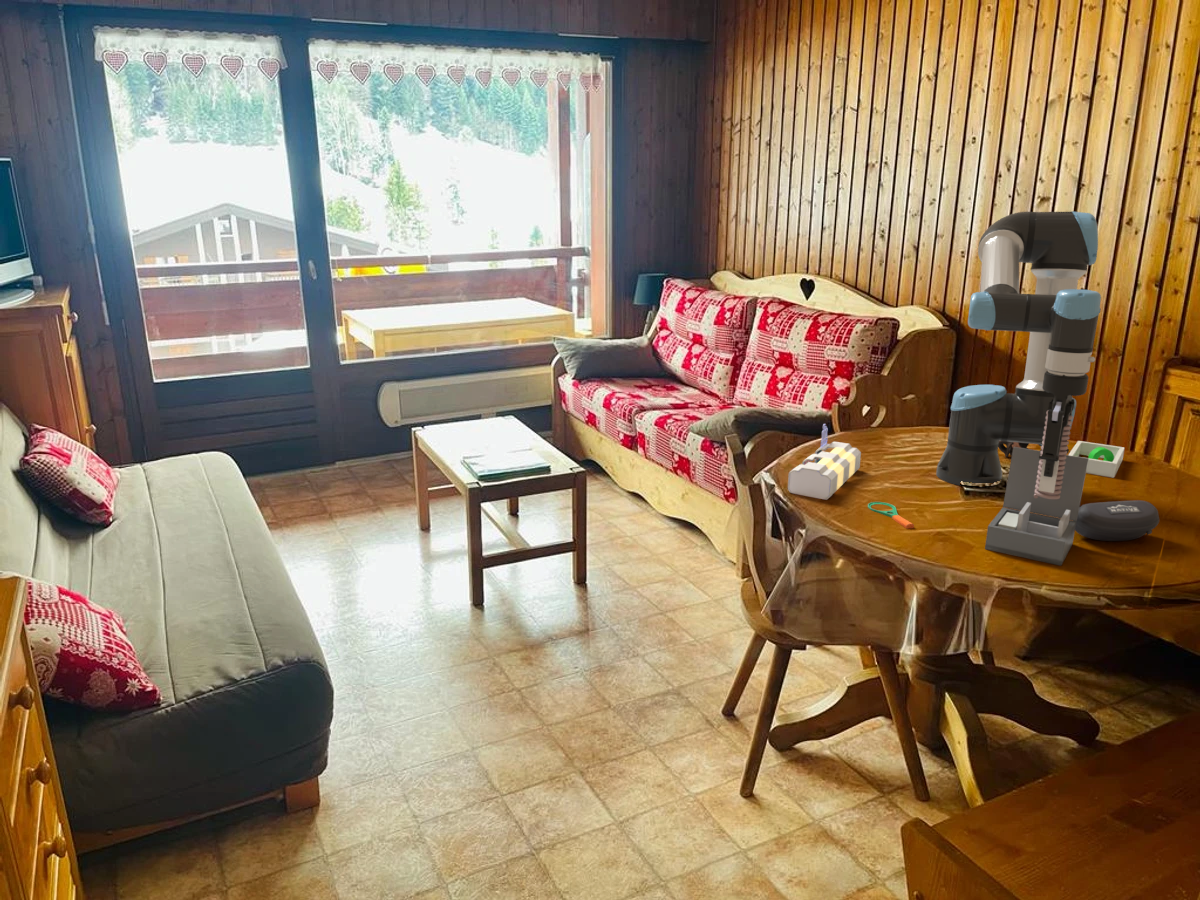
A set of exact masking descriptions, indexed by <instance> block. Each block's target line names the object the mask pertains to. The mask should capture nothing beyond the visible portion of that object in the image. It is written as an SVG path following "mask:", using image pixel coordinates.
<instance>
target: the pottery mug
mask: <svg viewBox="0 0 1200 900" xmlns="http://www.w3.org/2000/svg"><path fill="white" fill-rule="evenodd" d="M1029 445H1030V443H1019V442H1009V441H999V444H998V450H999V451H1001V452H1002V453H1003V454H1004V456H1005V457H1006V458H1008V457H1009V456H1010V457H1012V452H1013V447H1018V448H1025V449H1029V448H1028V446H1029ZM1037 445H1038V446H1039V447H1041V446H1042V445H1039V444H1037ZM1041 450H1042V449H1041V448H1040V450H1039V451H1041Z"/></svg>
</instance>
